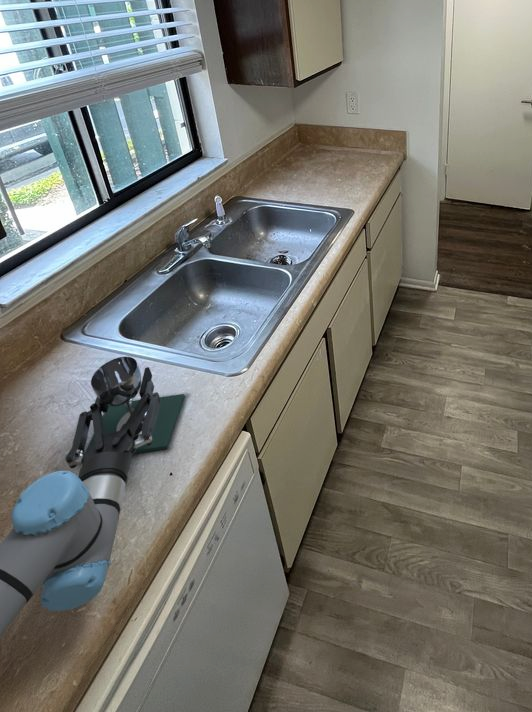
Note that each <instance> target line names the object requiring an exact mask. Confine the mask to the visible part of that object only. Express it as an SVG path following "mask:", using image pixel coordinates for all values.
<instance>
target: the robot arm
mask: <svg viewBox="0 0 532 712" xmlns="http://www.w3.org/2000/svg"><path fill="white" fill-rule="evenodd" d="M154 391H155V385H154V382H153V374H152V371H151V369H150V367H149V366H147V367H145V368H144V371H143V375H142V378H141V387H140V390H139V392H138V394H139V399H138V400H139V402H138V404H137V405H136V407H135V409H134V410H133V412H132V414H131V415H130V417H129V419H128V420H127V422H126V423H125V424H123V426H122V427H121V429H120V430H119V431H117V432H115V433H113V434H106V435H105V430H104V424H103V414H104V413H105V412H107V411H108V407H109V406H108V405H106V404H104V403H103V402H102V401H101V400H100V399H99V398H98V397H97V396H96V398H95V400H94V403H92V404H90V406H89V409H90V410H88V411H82V412H81V413H80V414H79V416H78V420H77V424H76V429H75V433H74V438H73V441H72V445H71V448H70V450H69V451H68V453H67V455H66V456H65V458H64V459H65V461H66V463H67V465H68V466H69V468H70V469H75V468H76V467H77V466H79V465H81V467H80V470H79V473H78V475H77V474H76V473H74V472H72V471H71V470H57V471H53V472H50V473H48V474H45V475H43V476H41V477H40V478H38V479H37V480H35V481H33V482H32V483H31V484H30V485H29V486H27V488H26V489H25V490H24V491H23V492H22V493H21V494H20V495H19V497H18V498H17V500H16V503H15V504H14V506H13V508H12V510H11V522H12V523H11V524H12V529H11V531H10V532H9V533H8V534H7V535H6V536H5V537H4V538H3V539H2V540H1V542H0V639H1V638H2V637H3V636H4V635H5V633H6V632H7V630H9V628H10V626H11V625H12V624H13V622H14V621H15V620H16V618H17V617H18V616H19V614H21V611H22V610H23V609H24V607H25V606H26V605H27V604H28V603H29V601H30V600H31V599H32V598H33V596H34V595H35V594H36V592H37V591H38V590H39V588H40V587H41V586H42V591H41V595H40V604H41V605H42V607H43V608H44V609H46V610H49V611H52V612H62V611H63V612H64V611H69V610H74V609H76V608H79V607H81V606H84V605H86V604H87V603H89V602H91V601H92V600H93V599H94V598H96V597H97V596H98V594H100V592H101V590H102V589H103V587H104V583H105V580H106V578H107V577H106V576H107V573H108V570H109V566H110V565H111V556H112V552H113V547H114V543H115V537H116V532H117V527H118V523H119V518H120V513H121V509H122V505H123V501H124V496H125V491H126V484H127V482H128V477H129V475H130V469H131V464H132V458H133V456H134V455H135V454H136V453H135V451H136V449H137V448H138V447H140V446H142V445H144V444H146V445H147V446H150V445H151V444H152V443H153V436H152V433H153V429H154V426H155V422H156V419H157V415H158V412H159V408H160V405H161V399H160V397H161V396H160V395H159V392H157V391H155V392H154ZM145 414H146V416H145ZM144 416H145V419H144V422H143V425H142V431H141V432H140V433H139V436H138V439H137V440H135V441H134V440H133V438H134V436H135V431H136V429H137V428H138V426H139V424H140V423H141V421H142V419H143V417H144ZM91 422H92V427H93V435H94V441H95V444H94V445H93V446H92V447H91V448H90V449H89V450H88V451H87V452H86V453H85V451H86V445H87V442H88V436H89V431H90V427H91ZM84 453H85V455H84ZM134 453H135V454H134ZM42 584H43V585H42Z"/></svg>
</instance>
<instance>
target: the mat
mask: <svg viewBox="0 0 532 712" xmlns="http://www.w3.org/2000/svg"><path fill="white" fill-rule="evenodd" d="M160 399H161V405H160V408H159V412H158V415H157V419H156V422H155V426H154V429H153V433H152V436H153V443H152V444H151V445H150V446H147V445H146V444H144V445H142V446H140V447H138V448H137V449H136V451H135V453H134V454H133V455H135V454H142V453H147V452H154V451H155V452H156V451H162V450H168V449H169V446H170V443H171V440H172V438H173V435H174V432H175V429H176V425H177V423H178V419H179V416H180V413H181V410H182V408H183V404H184V401H185V399H186V395H185V393H182V394H173V395H166V396H160ZM139 400H140V399H137V400H136V399H135V400H132V406H133V409H135V407H136V405H137V404H138V402H139ZM126 413H128V410H127V409H126V408H125V407H124V406H117V407H113V406H109V407H108V411H107V412H105V413H103V414H102V417H103V424H104V430H105V435H106V434H113V433H115V432H117V431H116V429H117V425H118V423H119V421H120V420H121V418H122V417H123V416H124V415H125V414H126ZM138 436H139V435H137V436H134V438H133V440H134V441H135V440H137V439H138ZM94 444H95V441H94V434H93V435H92V437H91V440H90V441H89V443H88V445H87V447H86V448H85V451H84V455H85V453H86V452H87V451H88V450H89V449H90V448H91V447H92V446H93V445H94Z"/></svg>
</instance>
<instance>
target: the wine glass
mask: <svg viewBox="0 0 532 712" xmlns="http://www.w3.org/2000/svg"><path fill="white" fill-rule="evenodd" d="M141 383H142V374H141V370H140V366H139V364H138V362H137V360H136V359H135V358H134V357H132V356H120V357H119V356H118V357H116V358H113V359H111V360H109V361H106V362H105V363H104V364H102V365H101V366H100V367H99V368H98V369H96V371H95V372H94V373H93V375H92V376H91V380H90V386H91V387H92V390H93V392H94V394H95V396H96V398H97V397H98V398H99V399H100V400H101V401H102V402H103V403H104V404H106V405H108V406H113V407H117V406H124V407H125V408H126V409H127V410H128V413H126V414H125V415H124V416H123V417H122V418H121V420H120V421H119V423H118V425H117V429H116V431H119V430H120V429H121V427H122V426H123V424H125V423H126V422H127V420H128V419H129V417H130V415H131V414H132V412H133V410H134V409H133V406H132V401H134V399H135V398H136V397H137V396H138V394H139V392H140V387H141ZM145 416H146V414H145ZM145 416H144V417H143V419H142V421H141V423H140V424H139V426H138V428H137V429H136V431H135V436H137V435H139V433H140V432H141V431H142V425H143V422H144V419H145Z"/></svg>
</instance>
